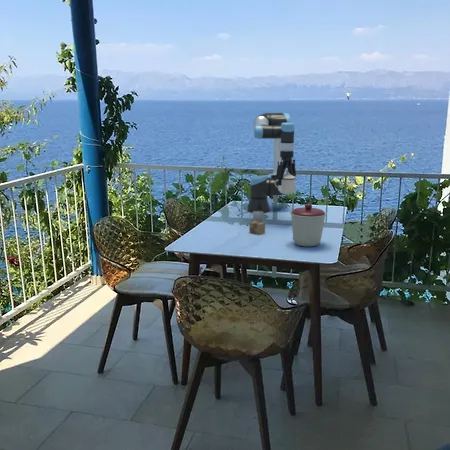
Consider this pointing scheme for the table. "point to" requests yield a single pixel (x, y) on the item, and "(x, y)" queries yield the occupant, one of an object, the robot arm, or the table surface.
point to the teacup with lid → (288, 184)
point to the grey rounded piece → (258, 216)
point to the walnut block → (257, 227)
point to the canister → (307, 225)
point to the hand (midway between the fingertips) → (285, 189)
